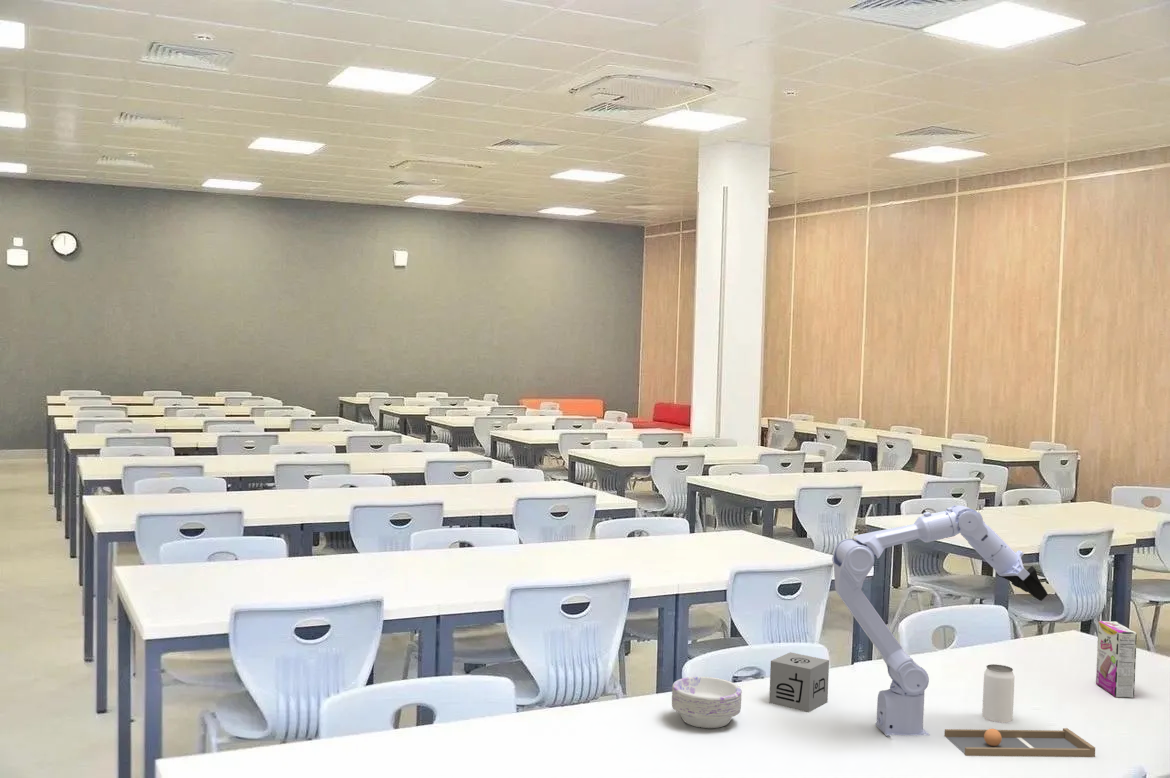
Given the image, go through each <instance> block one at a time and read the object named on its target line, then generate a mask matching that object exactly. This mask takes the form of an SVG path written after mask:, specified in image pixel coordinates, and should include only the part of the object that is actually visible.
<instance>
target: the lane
mask: <svg viewBox="0 0 1170 778" xmlns="http://www.w3.org/2000/svg"><path fill="white" fill-rule="evenodd" d="M987 730H988V729H971V728H970V729H967V728H966V729H960V728H959V729H955V728H949V729H947V728H945V729H944V737H945V738H946V739H947V740H948V741H949V742H950V743H952V744H953V745H954V746H955V747H956V748H957V749H958V750H959V751H960V752H962V754H964V756H967V757H968V756H969V757H970V756H971V757H975V756H976V757H977V756H978V757H1044V758H1045V757H1056V758H1057V757H1063V758H1064V757H1065V758H1067V757H1068V758H1076V757H1077V758H1095V757H1096V747H1095V746H1093V745H1092V744H1091V743H1089V742H1088V741H1086V739H1084V738H1082V737H1081V736H1079V735H1078V734H1076V733H1075V732H1074V731H1072V730H1071V729H1069V728H1067V727H1065V728H1062V730H1059V729H1057V730H1053V729H1052V730H1051V729H1048V730H1047V729H1046V730H1045V729H1044V730H1041V729H1039V730H1038V729H1035V730H1033V729H1026V730H1025V729H996V730H997V731H999V732H1000V734H1001V736H1002V740H1001V743H1000V744H999V745H997V746H990V745H988V744H987V743H986V742H985V740H984V734H985V732H986V731H987Z"/></svg>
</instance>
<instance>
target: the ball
mask: <svg viewBox="0 0 1170 778" xmlns="http://www.w3.org/2000/svg"><path fill="white" fill-rule="evenodd" d="M986 730H987V731H986V732H985V734H984V740H985V742H986V743H987V744H988V745H990V746H997V745H999V744H1000V743H1001V740H1002V736H1001V734H1000V732H999V731H997V730H998V729H996V728H989V729H986Z"/></svg>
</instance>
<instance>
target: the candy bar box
mask: <svg viewBox="0 0 1170 778" xmlns="http://www.w3.org/2000/svg"><path fill="white" fill-rule="evenodd" d="M1097 623H1098V626H1097V646H1096V648H1097V650H1096V651H1097V653H1096V673H1095V674H1096V677H1095V685H1097V686H1099V687H1100V688H1102V689H1103V690H1104V691H1106V692H1107V693H1109V694H1110V695H1111V696H1113V697H1114V698H1116V699H1117V698H1118V699H1134V698H1135V687H1136V685H1135V683H1136V682H1135V680H1136V660H1137V659H1136V658H1137V636H1138V633H1137V632H1136V631H1134V630H1132V629H1131V628H1128V627H1126V626H1125V625H1123V624H1122V623H1120V622H1118V621H1111V620H1110V621H1109V620H1099V621H1098V622H1097Z"/></svg>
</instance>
